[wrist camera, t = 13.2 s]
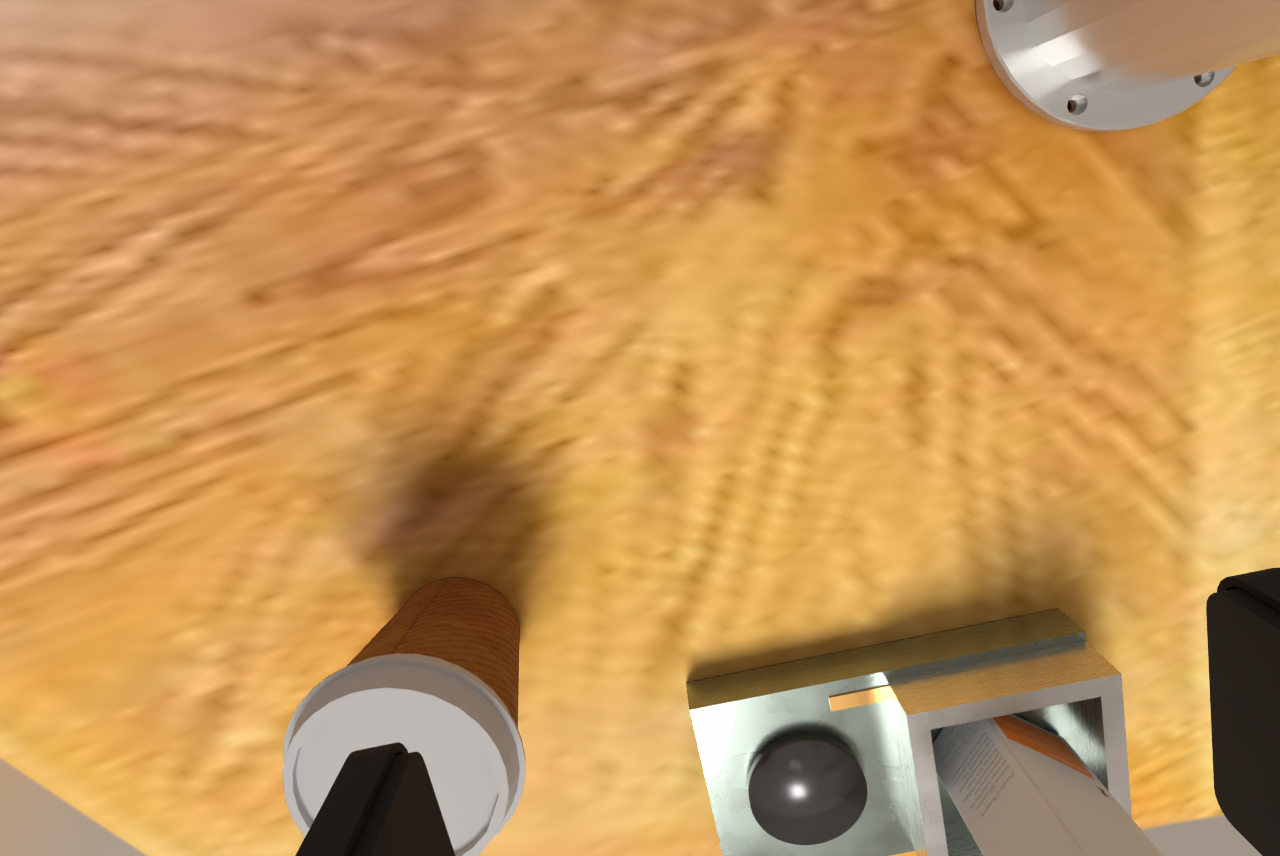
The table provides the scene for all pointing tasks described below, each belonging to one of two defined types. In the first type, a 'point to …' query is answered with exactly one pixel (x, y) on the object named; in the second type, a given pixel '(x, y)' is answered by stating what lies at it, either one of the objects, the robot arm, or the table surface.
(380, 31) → the table surface
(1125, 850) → the skincare box
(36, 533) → the table surface
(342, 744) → the disposable coffee cup
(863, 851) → the divided tray with ball
